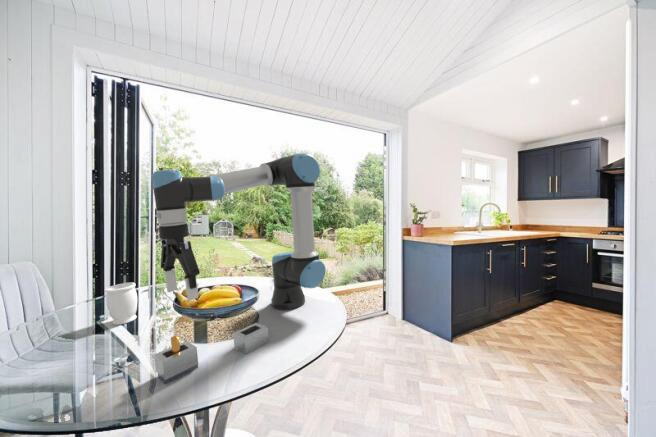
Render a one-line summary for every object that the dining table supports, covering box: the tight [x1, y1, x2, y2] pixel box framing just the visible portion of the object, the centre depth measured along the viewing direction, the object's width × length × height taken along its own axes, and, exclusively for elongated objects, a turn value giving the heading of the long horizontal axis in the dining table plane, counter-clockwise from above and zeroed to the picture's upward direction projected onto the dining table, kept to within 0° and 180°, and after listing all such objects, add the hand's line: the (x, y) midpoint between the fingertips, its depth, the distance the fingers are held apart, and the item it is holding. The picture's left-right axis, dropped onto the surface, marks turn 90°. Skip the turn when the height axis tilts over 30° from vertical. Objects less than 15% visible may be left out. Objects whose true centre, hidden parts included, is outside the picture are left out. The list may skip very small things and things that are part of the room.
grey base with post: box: [157, 335, 199, 385], centre depth 82 cm, size 9×5×10 cm, turn 140°
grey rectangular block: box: [153, 340, 199, 380], centre depth 82 cm, size 9×6×5 cm
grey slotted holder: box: [232, 322, 270, 355], centre depth 95 cm, size 9×6×5 cm
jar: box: [104, 282, 138, 326], centre depth 121 cm, size 11×10×15 cm
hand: (182, 294), depth 86 cm, fingers open, 13 cm apart
